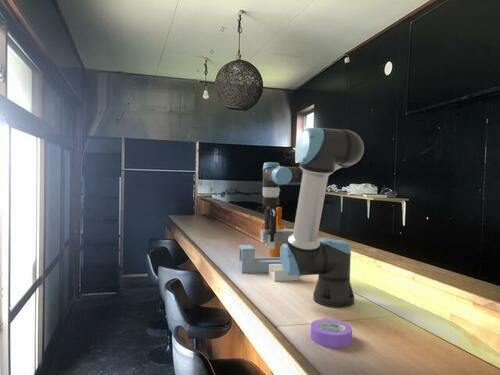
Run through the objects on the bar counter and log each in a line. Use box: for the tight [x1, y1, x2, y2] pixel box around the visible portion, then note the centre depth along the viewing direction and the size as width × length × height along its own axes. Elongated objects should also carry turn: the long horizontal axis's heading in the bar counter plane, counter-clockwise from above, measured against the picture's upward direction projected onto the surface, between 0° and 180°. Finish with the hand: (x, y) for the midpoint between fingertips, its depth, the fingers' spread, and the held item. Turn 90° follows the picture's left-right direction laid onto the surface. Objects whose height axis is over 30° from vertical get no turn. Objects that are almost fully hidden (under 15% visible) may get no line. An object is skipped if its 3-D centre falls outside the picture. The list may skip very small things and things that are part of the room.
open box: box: [238, 244, 282, 274], centre depth 185 cm, size 10×22×12 cm, turn 101°
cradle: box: [268, 264, 299, 282], centre depth 172 cm, size 11×11×5 cm
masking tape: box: [310, 318, 353, 349], centre depth 108 cm, size 12×12×4 cm
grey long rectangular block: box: [260, 228, 294, 245], centre depth 171 cm, size 18×6×6 cm, turn 101°
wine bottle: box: [268, 206, 287, 258], centre depth 202 cm, size 10×10×30 cm
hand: (269, 247), depth 170 cm, fingers closed on grey long rectangular block, 5 cm apart
